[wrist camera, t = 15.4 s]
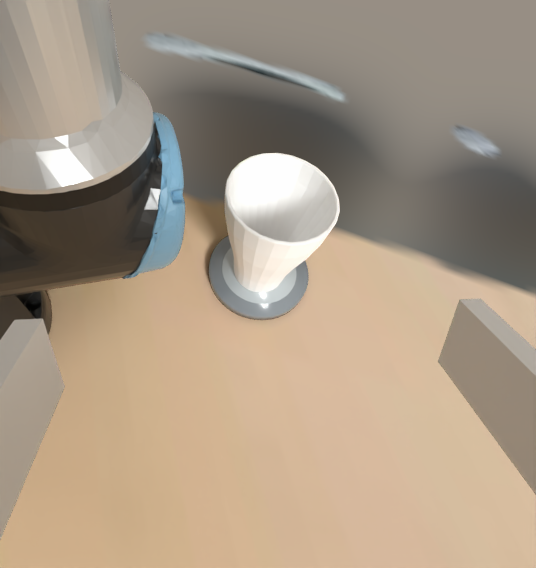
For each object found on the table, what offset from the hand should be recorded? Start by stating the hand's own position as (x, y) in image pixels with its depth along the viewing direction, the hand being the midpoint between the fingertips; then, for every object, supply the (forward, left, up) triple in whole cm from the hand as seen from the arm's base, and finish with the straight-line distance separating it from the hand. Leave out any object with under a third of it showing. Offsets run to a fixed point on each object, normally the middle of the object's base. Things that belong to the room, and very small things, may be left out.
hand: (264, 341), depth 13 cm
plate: (-5, +19, -29) cm, 35 cm away
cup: (-6, +19, -28) cm, 34 cm away
